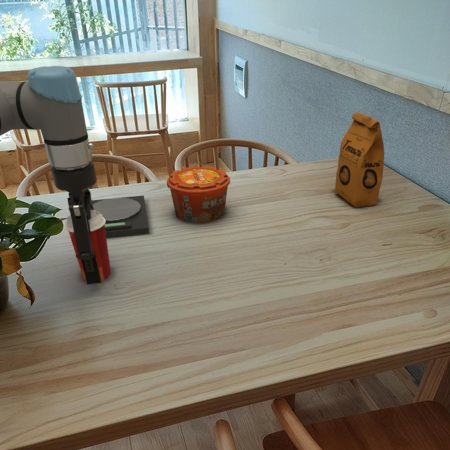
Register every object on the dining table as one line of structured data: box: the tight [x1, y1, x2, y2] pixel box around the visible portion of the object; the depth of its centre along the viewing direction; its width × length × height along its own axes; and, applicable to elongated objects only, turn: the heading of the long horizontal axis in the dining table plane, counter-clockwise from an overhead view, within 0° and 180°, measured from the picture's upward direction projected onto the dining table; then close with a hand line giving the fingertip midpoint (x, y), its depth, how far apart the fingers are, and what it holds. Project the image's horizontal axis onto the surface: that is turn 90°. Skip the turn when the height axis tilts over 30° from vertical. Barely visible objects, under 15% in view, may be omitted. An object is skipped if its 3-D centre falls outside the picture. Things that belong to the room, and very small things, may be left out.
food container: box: [166, 165, 231, 224], centre depth 115 cm, size 16×16×11 cm
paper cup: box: [64, 210, 111, 282], centre depth 91 cm, size 8×8×14 cm
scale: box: [91, 195, 150, 239], centre depth 115 cm, size 16×20×3 cm
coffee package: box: [334, 111, 385, 208], centre depth 119 cm, size 10×12×22 cm
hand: (95, 267), depth 93 cm, fingers open, 11 cm apart
